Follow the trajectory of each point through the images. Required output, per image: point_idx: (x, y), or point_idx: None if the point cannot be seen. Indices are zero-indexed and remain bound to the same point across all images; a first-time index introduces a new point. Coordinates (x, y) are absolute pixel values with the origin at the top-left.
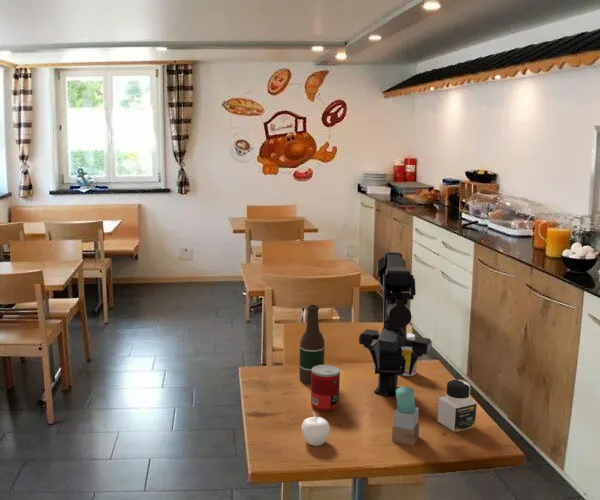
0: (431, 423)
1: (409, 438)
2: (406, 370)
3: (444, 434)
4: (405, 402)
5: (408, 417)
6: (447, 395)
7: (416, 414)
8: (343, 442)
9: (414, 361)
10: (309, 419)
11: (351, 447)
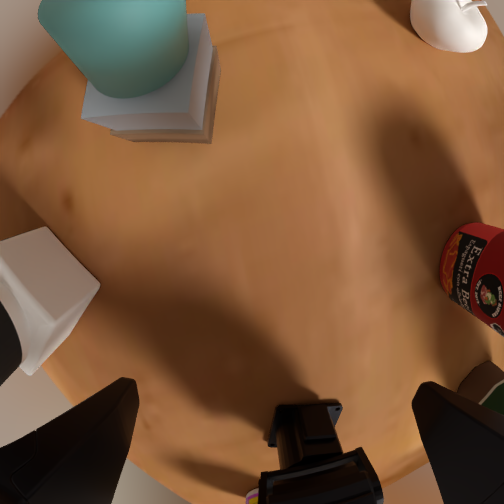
0: (114, 264)
1: None
2: None
3: (66, 198)
4: None
5: None
6: (9, 309)
7: None
8: (368, 30)
9: (5, 454)
10: (478, 13)
11: (337, 8)
